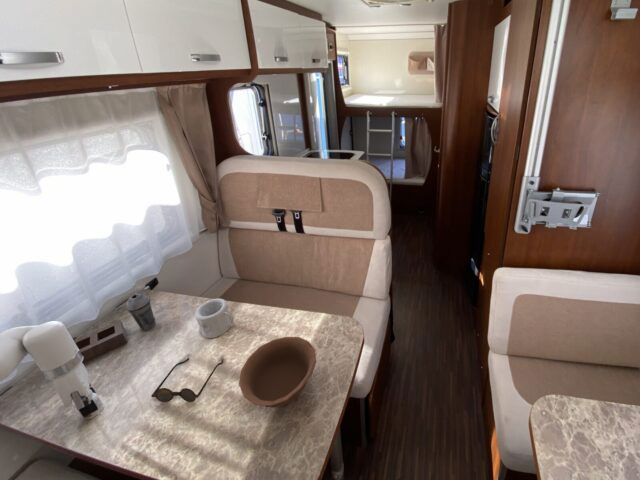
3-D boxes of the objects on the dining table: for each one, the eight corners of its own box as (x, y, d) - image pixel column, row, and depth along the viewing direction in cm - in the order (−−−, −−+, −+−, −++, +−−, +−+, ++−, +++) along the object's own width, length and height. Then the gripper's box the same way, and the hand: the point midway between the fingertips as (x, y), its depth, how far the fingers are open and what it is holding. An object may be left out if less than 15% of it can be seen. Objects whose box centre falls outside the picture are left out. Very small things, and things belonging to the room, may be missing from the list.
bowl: (296, 439, 81) (289, 413, 76) (230, 416, 87) (220, 391, 83) (332, 366, 100) (328, 343, 96) (276, 351, 106) (270, 328, 102)
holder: (69, 370, 103) (63, 360, 101) (70, 354, 109) (64, 344, 107) (127, 342, 113) (122, 332, 111) (125, 329, 119) (120, 319, 117)
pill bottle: (81, 416, 89) (69, 399, 86) (98, 402, 93) (87, 385, 90) (90, 421, 87) (78, 404, 84) (107, 406, 91) (96, 389, 88)
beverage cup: (133, 331, 118) (113, 290, 110) (152, 317, 124) (134, 278, 116) (145, 336, 115) (125, 295, 108) (164, 322, 121) (146, 282, 114)
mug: (195, 336, 114) (187, 316, 110) (215, 315, 124) (209, 296, 120) (226, 342, 111) (219, 321, 107) (244, 319, 121) (238, 300, 117)
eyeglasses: (154, 402, 92) (148, 391, 90) (186, 358, 105) (181, 348, 103) (200, 403, 91) (195, 392, 89) (226, 359, 104) (222, 348, 103)
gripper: (45, 352, 85) (74, 394, 92) (40, 394, 74) (72, 439, 81) (81, 336, 90) (105, 378, 97) (81, 374, 79) (109, 418, 86)
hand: (90, 405), depth 89 cm, fingers closed on pill bottle, 4 cm apart
